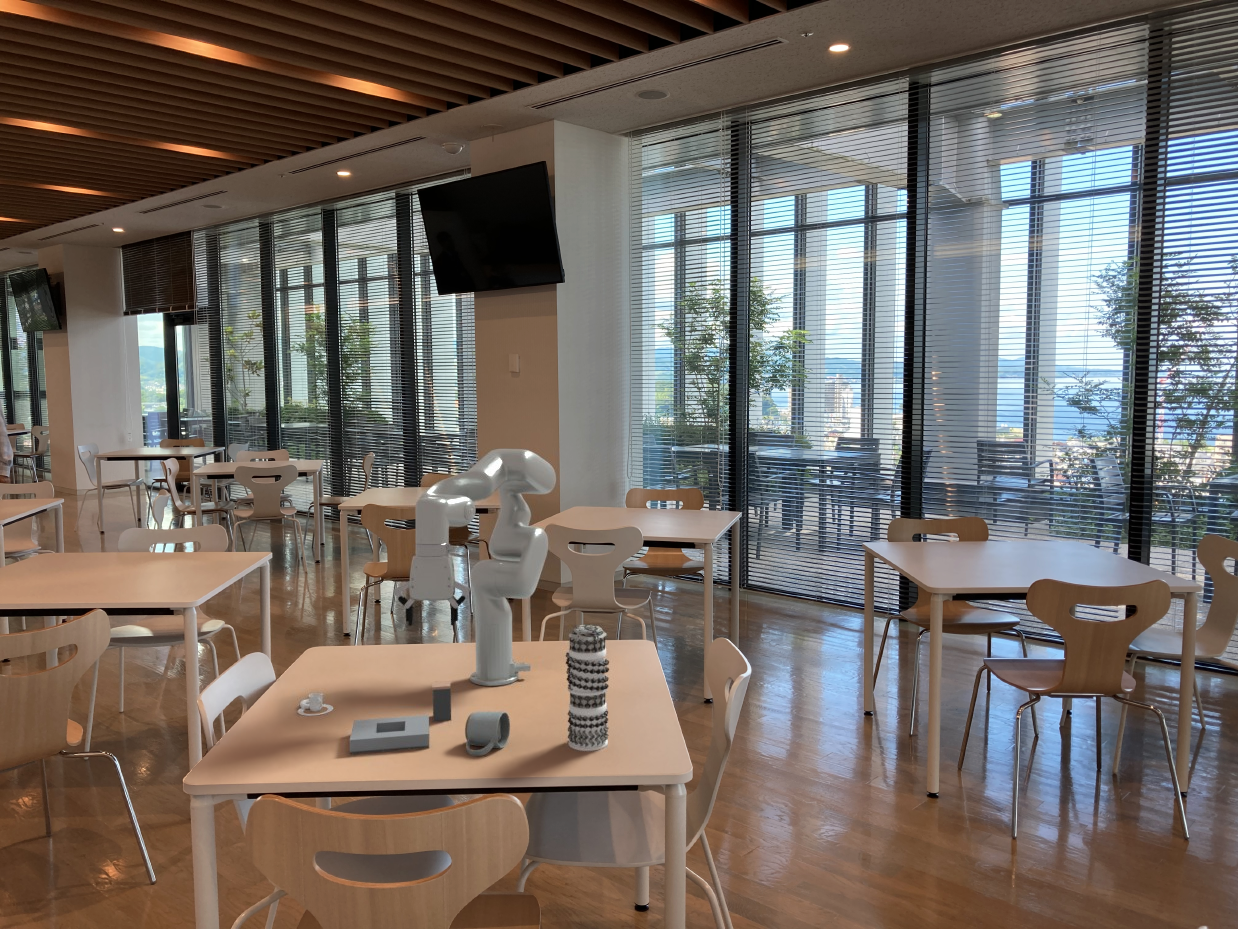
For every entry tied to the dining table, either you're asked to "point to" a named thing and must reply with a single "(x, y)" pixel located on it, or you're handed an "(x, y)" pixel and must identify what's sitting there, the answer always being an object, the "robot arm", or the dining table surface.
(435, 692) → the charger
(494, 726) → the ceramic mug
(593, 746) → the decorative candle
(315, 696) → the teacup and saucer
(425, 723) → the outlet box
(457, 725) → the dining table surface
